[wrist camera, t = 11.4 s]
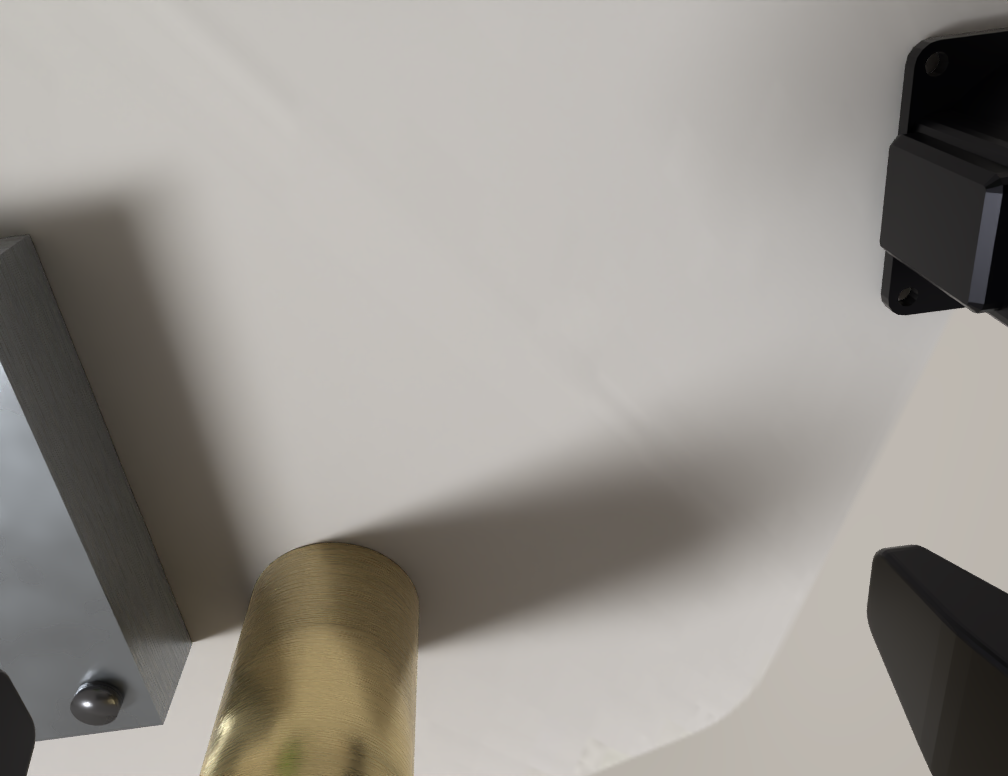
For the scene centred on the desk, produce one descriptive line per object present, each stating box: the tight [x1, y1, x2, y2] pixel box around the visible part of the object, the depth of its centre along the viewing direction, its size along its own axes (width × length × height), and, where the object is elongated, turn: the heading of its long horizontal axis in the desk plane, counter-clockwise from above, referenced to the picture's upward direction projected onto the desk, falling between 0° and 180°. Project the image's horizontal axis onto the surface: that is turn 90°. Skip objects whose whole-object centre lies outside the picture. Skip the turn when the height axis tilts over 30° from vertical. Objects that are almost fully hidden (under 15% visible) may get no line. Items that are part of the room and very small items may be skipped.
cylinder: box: [200, 543, 419, 776], centre depth 20 cm, size 5×5×11 cm
